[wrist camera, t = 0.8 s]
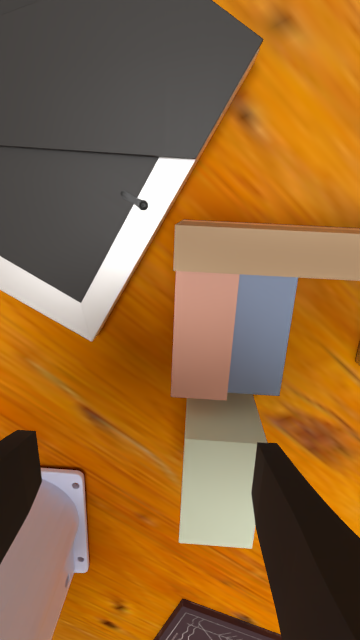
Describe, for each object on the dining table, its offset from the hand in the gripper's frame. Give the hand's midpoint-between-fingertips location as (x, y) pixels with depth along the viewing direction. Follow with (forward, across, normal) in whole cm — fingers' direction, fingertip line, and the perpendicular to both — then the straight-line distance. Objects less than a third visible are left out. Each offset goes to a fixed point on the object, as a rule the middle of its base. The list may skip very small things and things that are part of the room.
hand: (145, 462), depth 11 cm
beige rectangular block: (+10, -3, +4) cm, 11 cm away
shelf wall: (+10, -7, -6) cm, 13 cm away
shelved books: (+10, -3, -3) cm, 10 cm away
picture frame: (+10, +9, -13) cm, 19 cm away
